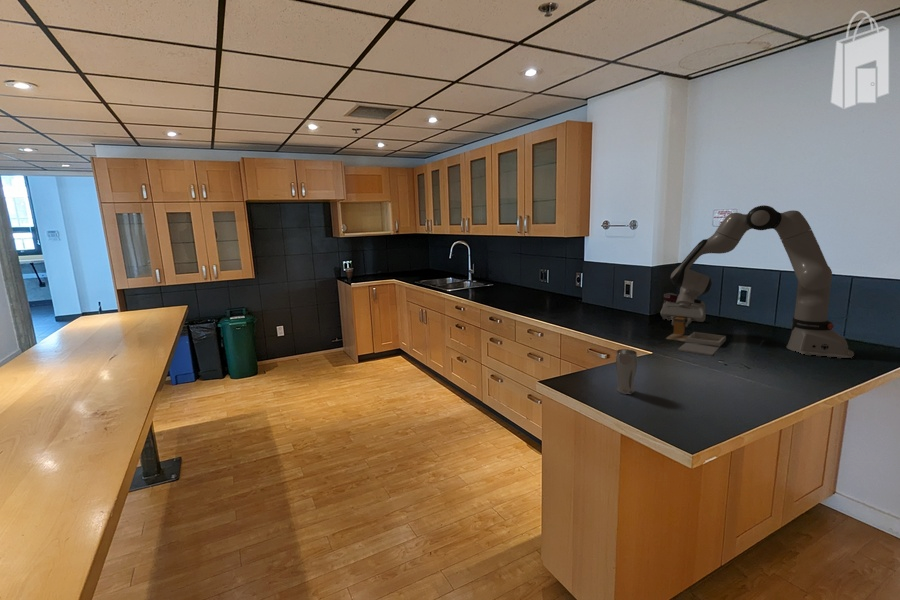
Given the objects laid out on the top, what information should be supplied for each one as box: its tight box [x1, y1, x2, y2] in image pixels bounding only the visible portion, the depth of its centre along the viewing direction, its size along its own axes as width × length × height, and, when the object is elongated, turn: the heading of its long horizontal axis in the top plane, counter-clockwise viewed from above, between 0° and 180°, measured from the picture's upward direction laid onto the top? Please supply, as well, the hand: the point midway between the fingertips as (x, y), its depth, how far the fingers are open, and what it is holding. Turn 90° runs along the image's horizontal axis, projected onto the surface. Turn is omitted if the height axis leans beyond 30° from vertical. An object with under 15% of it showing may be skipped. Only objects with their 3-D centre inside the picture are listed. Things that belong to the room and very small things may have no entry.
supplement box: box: [662, 292, 680, 321], centre depth 250 cm, size 9×5×16 cm, turn 25°
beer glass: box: [615, 348, 638, 394], centre depth 151 cm, size 7×7×15 cm
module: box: [672, 317, 686, 335], centre depth 212 cm, size 4×4×8 cm
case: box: [677, 331, 727, 357], centre depth 200 cm, size 14×28×3 cm, turn 137°
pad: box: [665, 333, 690, 343], centre depth 213 cm, size 9×12×1 cm
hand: (679, 325), depth 211 cm, fingers closed on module, 4 cm apart
